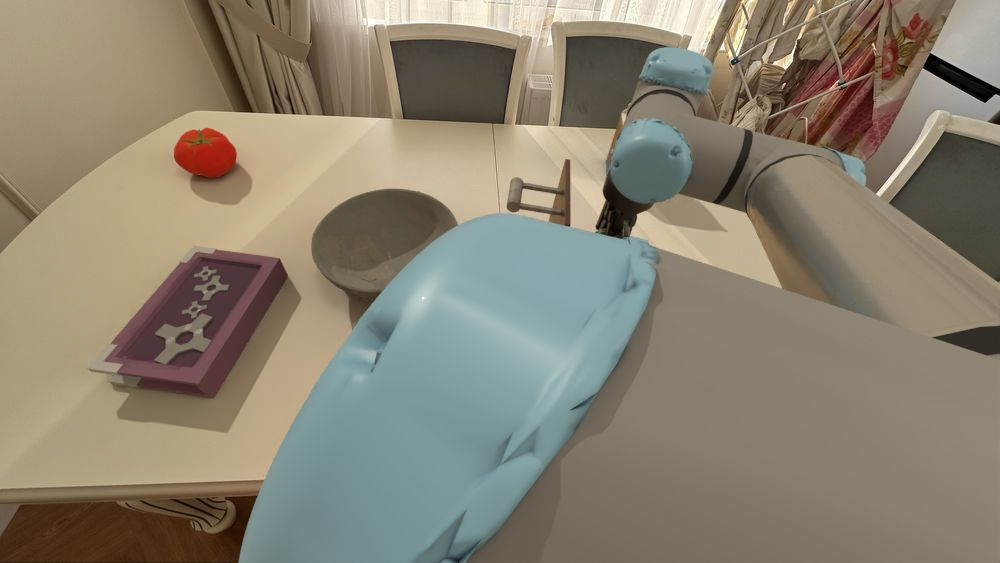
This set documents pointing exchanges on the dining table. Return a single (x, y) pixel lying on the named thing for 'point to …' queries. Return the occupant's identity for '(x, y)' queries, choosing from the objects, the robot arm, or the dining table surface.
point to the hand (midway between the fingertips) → (593, 282)
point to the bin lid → (563, 196)
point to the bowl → (376, 237)
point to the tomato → (205, 153)
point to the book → (194, 323)
